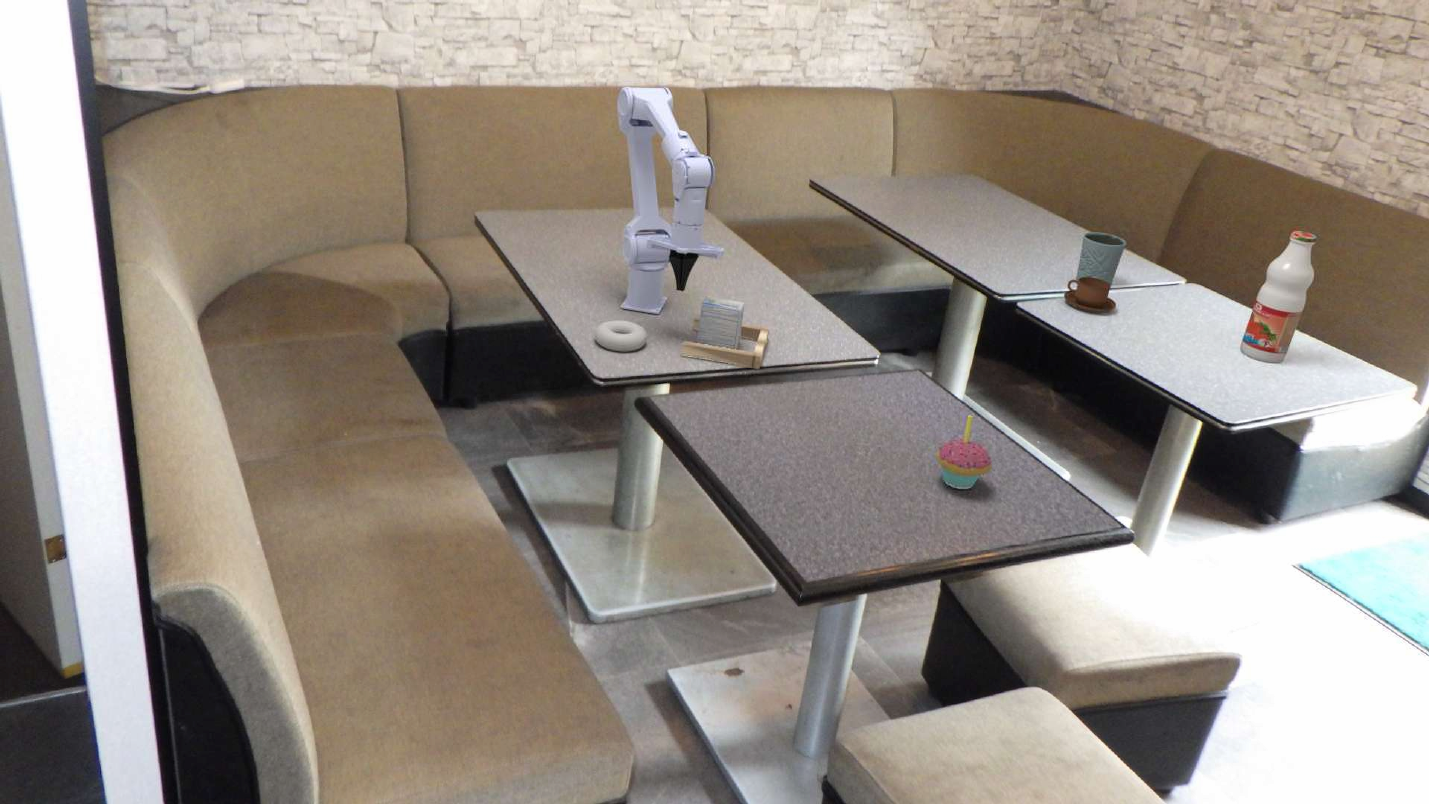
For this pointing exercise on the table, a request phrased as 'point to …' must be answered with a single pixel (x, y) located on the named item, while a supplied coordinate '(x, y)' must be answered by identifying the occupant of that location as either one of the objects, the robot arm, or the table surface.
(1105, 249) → the grey green embossed tumbler
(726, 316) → the medicine box
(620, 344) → the donut
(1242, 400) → the table surface
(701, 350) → the wooden u-shaped block
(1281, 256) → the fruit juice
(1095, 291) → the cup and saucer
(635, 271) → the robot arm
